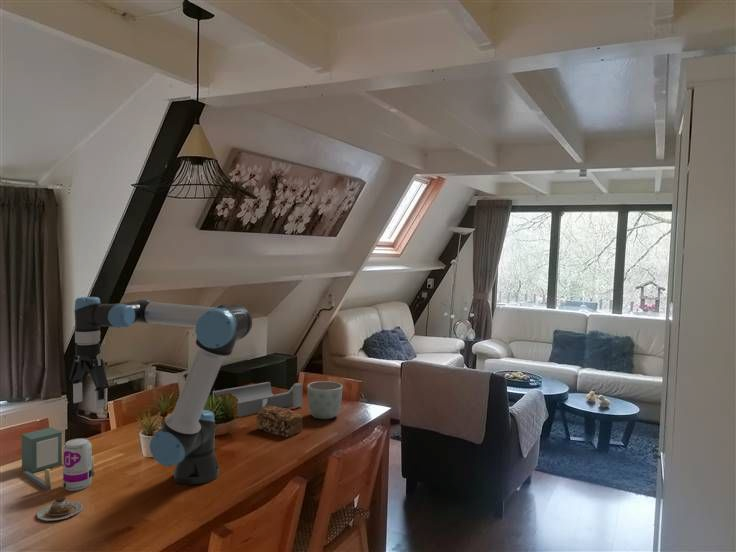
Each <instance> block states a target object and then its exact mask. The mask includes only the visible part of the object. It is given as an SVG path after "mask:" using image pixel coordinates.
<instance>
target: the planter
mask: <svg viewBox="0 0 736 552" xmlns="http://www.w3.org/2000/svg"><path fill="white" fill-rule="evenodd" d="M306 390H307V406H308V412H309V413H310V414H311V415H312V417H313V418H315V419H319V420H330V419H333V418H335V417H337V415H338V414H339V412H340V411H341V406H342V397H343V396H342V395H343V384H341V383H340V382H336V381H327V380H325V381H324V380H321V381H313V382H309V383H308V384H307V389H306Z"/></svg>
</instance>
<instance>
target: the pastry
mask: <svg viewBox="0 0 736 552" xmlns="http://www.w3.org/2000/svg"><path fill="white" fill-rule="evenodd" d="M83 507H84V505H83V504H82V502H78V501H75V500H73V501H72V500H69V499H67V498H66V496H62V497H57V498H56V499H55V501H54V502H53V503H51V504H48V505H45V506H44V507H41V508H40V509H39V510H38V512H37V513H36V518H37V519H39V520H41V521H44V522H49V521H53V522H54V521H59V520H64V519H68V518H70V517H72V516H75V515H77V514H78V513H80V512H81V511H82V509H83ZM73 509H74V511H73ZM72 511H73V512H72ZM71 512H72V513H71ZM47 513H48V515H49V516H51V517H56V518H49V517H47V516H46V514H47ZM70 513H71V514H70ZM68 514H69V515H68ZM65 515H66V516H65ZM61 516H63V517H61ZM57 517H58V518H57Z"/></svg>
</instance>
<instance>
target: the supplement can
mask: <svg viewBox="0 0 736 552" xmlns="http://www.w3.org/2000/svg"><path fill="white" fill-rule="evenodd" d="M92 452H93V451H92V443H91V442H90V439H88V438H85V437H81V438H79V437H78V438H72V439H70V440H67V441H66V442H65V444H64V446H63V449H62V465H63V466H62V467H63V468H62V476H63V477H62V480H63V481H62V485H63V486H62V488H63V489H65V490H66V491H69V492H74V491H75V492H76V491H81V490H84V489H86V488H88V487H89V486H90V485H91V484H92V476H91V464H92V456H93V455H92Z"/></svg>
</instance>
